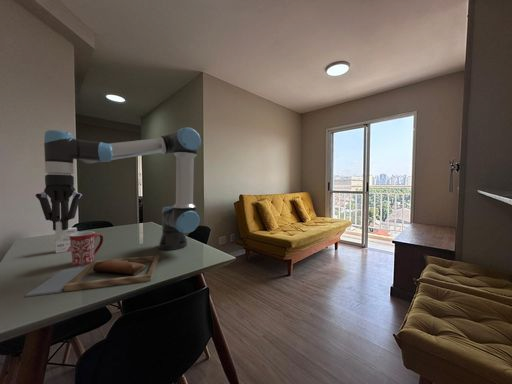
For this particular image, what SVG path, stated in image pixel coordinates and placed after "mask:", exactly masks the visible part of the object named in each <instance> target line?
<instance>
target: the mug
mask: <svg viewBox="0 0 512 384" xmlns="http://www.w3.org/2000/svg"><path fill="white" fill-rule="evenodd" d="M69 237H70V243H71V251H70V252H71V262H72V266H77V267H78V266H85V265H88V264H89V265H90V264H91V263H93V262H94V261H95V257H94V256H95V255H96V254H97V252H99V251H100V248H101V247H102V245H103V243H104V236H103V235H102V234H99V233H96V232H95V231H91V230H89V231H88V230H87V231H86V230H84V231H79V232H78V231H77V233H73V234H70V235H69ZM98 237H99V243H98V244H97V247H96V248H95V240H96V238H98Z"/></svg>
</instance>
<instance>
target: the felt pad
mask: <svg viewBox="0 0 512 384" xmlns="http://www.w3.org/2000/svg"><path fill="white" fill-rule="evenodd" d="M85 268H86V267H80V268H70V269H61V270H60V271H59V272H58V273H56V274H54V275H53V276H52V277H50V278H49V279H47V280H46V281H44V282H43V283H41V284H40V285H38V286H37V287H36V288H34V289H33V290H30V292H28V293H27V294H25V298H28V297H36V296H37V297H38V296H42V295H52V294H60V293H63V292H64V285H65V284H67V283H68V282H69V281H70V280H71V279H73V278H74V277H75V276H76V275H78V274H79V273H80V272H81V271H83V270H84V269H85Z"/></svg>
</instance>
